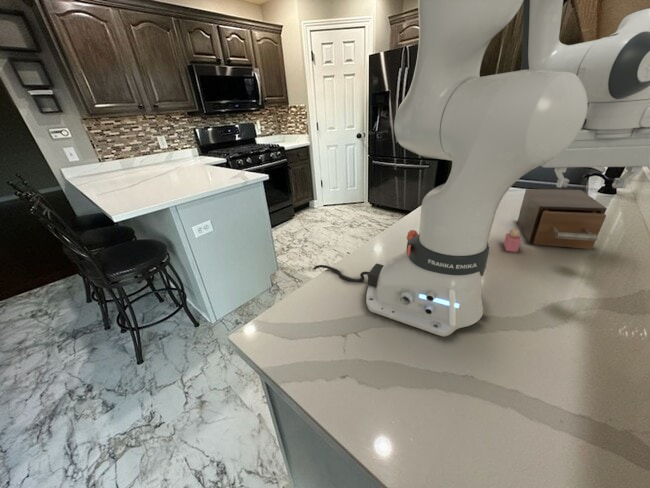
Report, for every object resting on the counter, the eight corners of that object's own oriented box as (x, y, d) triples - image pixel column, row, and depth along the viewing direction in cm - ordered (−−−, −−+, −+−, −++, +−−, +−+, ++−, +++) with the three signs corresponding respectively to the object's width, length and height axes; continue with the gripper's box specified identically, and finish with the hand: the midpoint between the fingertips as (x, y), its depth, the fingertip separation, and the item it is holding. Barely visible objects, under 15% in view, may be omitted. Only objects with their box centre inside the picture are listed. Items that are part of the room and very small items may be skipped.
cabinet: (589, 248, 65) (607, 208, 60) (528, 243, 70) (539, 205, 65) (568, 224, 77) (581, 189, 72) (517, 222, 81) (525, 189, 77)
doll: (505, 250, 68) (510, 231, 65) (503, 244, 70) (508, 225, 68) (517, 251, 67) (523, 232, 64) (514, 245, 69) (520, 226, 67)
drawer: (601, 259, 59) (618, 223, 55) (539, 253, 63) (550, 220, 59) (571, 226, 74) (582, 196, 70) (522, 223, 78) (530, 195, 74)
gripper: (552, 123, 52) (533, 190, 58) (704, 113, 44) (663, 192, 50) (543, 120, 57) (527, 182, 63) (678, 111, 49) (644, 183, 55)
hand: (588, 187), depth 57 cm, fingers open, 8 cm apart
